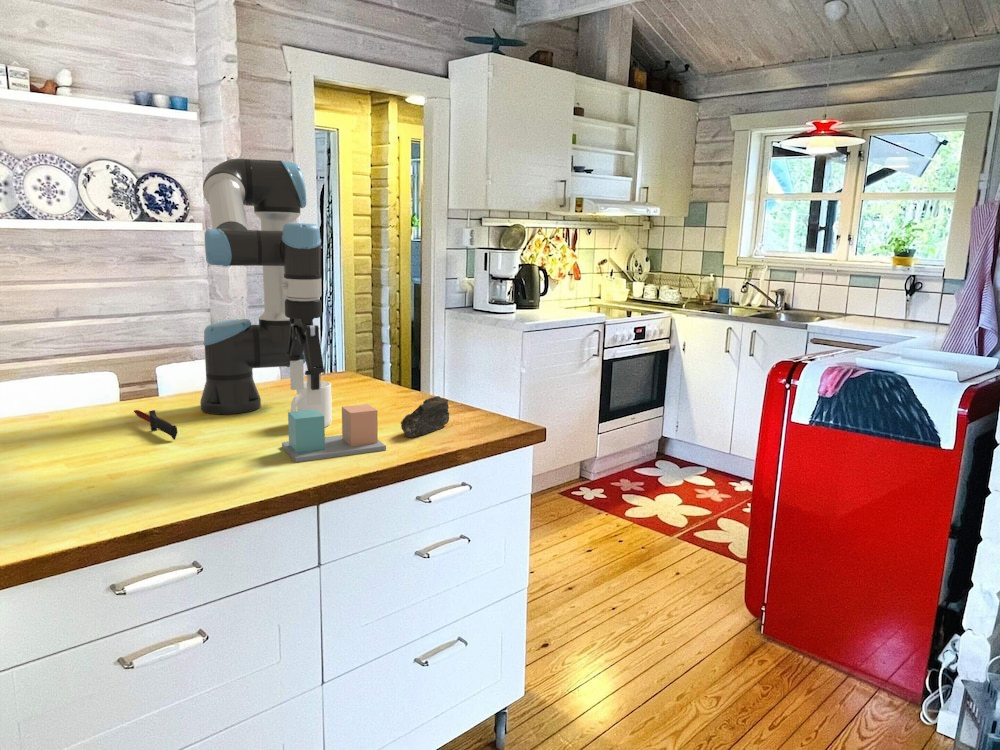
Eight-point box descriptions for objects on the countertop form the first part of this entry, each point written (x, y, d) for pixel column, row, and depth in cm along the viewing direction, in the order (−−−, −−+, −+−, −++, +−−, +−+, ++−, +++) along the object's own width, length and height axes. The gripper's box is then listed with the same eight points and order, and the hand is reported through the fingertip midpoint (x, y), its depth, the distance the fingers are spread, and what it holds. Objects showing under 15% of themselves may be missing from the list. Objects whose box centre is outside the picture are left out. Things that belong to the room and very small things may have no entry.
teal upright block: (289, 445, 157) (287, 412, 155) (316, 441, 160) (316, 409, 158) (296, 453, 152) (295, 419, 150) (325, 449, 155) (324, 415, 153)
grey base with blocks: (282, 446, 159) (280, 409, 157) (367, 436, 169) (367, 400, 167) (295, 462, 149) (294, 422, 147) (386, 450, 159) (385, 412, 157)
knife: (178, 441, 161) (177, 420, 160) (171, 442, 160) (170, 421, 159) (137, 420, 177) (135, 400, 176) (131, 421, 176) (129, 401, 175)
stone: (424, 421, 183) (396, 438, 169) (425, 390, 181) (397, 406, 167) (450, 425, 181) (423, 443, 167) (451, 394, 178) (424, 410, 165)
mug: (304, 434, 169) (303, 392, 167) (279, 429, 173) (277, 387, 171) (338, 423, 179) (338, 383, 177) (314, 418, 183) (313, 379, 181)
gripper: (271, 292, 158) (274, 384, 163) (300, 306, 137) (303, 412, 142) (305, 291, 161) (307, 382, 166) (338, 305, 141) (340, 409, 145)
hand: (305, 396), depth 154 cm, fingers open, 13 cm apart
